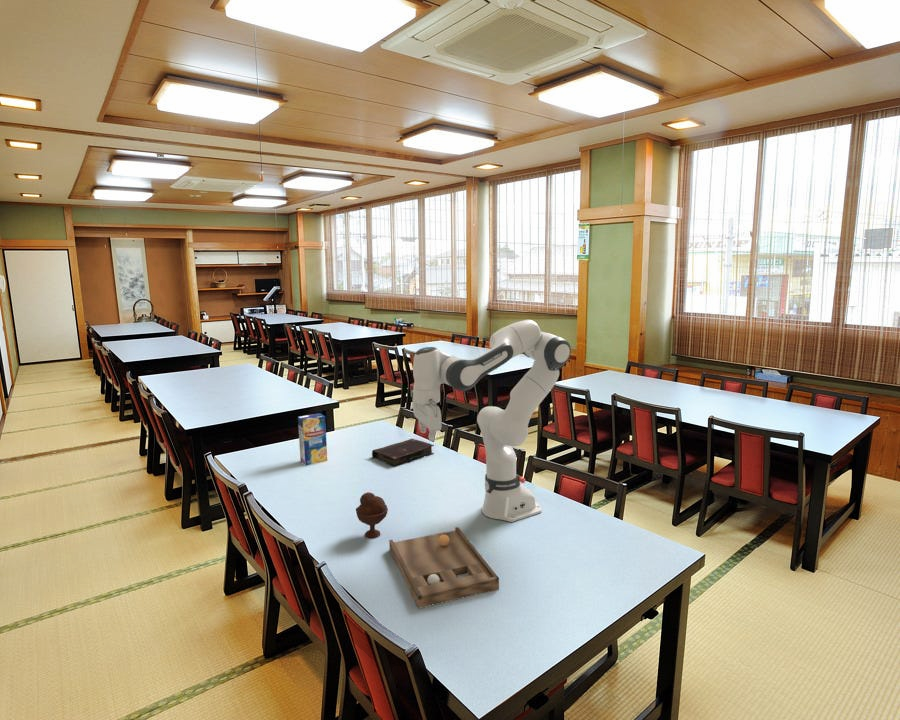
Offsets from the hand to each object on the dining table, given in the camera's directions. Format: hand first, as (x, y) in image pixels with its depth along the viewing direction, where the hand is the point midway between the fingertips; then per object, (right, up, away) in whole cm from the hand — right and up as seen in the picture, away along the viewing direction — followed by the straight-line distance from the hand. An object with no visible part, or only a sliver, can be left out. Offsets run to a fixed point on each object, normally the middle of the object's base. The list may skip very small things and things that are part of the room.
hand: (427, 436), depth 177 cm
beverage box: (-57, -23, +75) cm, 97 cm away
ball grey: (+3, -38, -25) cm, 46 cm away
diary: (-15, -22, +81) cm, 85 cm away
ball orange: (+6, -32, -8) cm, 34 cm away
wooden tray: (+5, -38, -16) cm, 42 cm away
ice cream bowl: (-19, -35, +5) cm, 40 cm away
